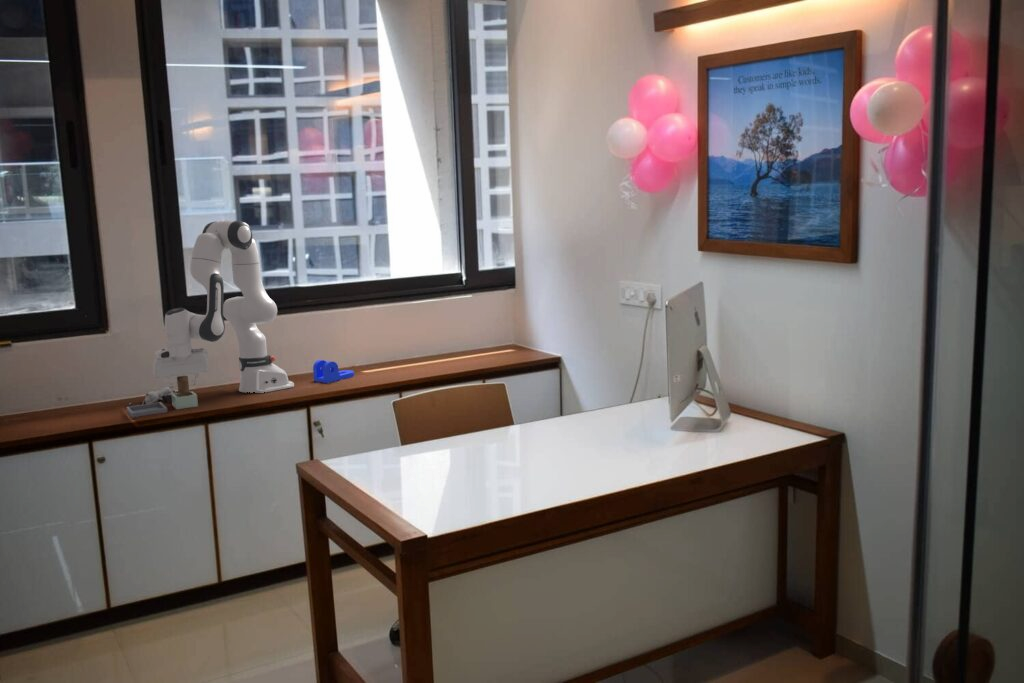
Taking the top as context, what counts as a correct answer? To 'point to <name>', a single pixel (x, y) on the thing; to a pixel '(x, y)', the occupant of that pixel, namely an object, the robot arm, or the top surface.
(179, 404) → the sage pot
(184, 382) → the walnut dowel
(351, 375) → the bracket
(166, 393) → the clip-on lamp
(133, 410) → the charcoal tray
